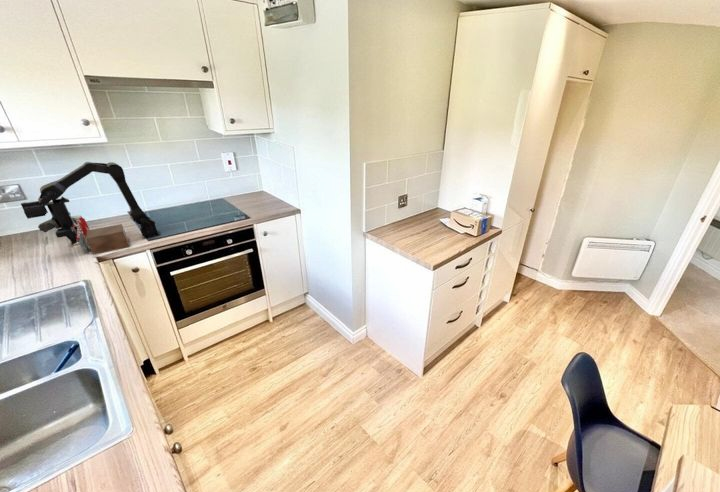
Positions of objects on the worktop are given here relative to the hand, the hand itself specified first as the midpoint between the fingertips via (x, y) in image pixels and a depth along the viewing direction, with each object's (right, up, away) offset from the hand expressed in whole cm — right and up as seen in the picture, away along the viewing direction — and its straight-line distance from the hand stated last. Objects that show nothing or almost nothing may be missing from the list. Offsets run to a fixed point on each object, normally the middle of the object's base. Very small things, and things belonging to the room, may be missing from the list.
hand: (74, 243), depth 153 cm
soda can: (-12, +3, +16) cm, 20 cm away
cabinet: (+9, -1, +9) cm, 13 cm away
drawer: (+5, -2, +6) cm, 8 cm away
